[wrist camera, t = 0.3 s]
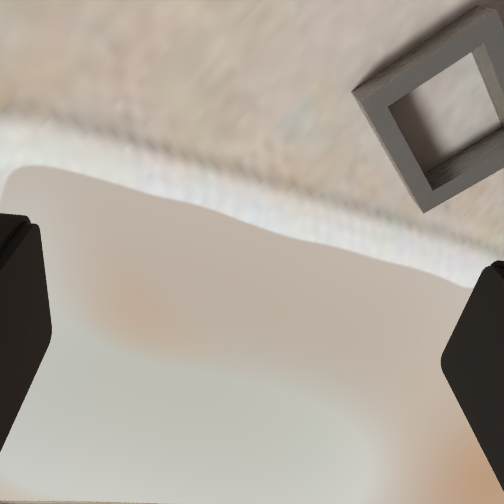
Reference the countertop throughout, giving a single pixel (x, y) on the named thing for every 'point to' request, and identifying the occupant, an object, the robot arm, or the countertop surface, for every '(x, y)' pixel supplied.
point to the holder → (418, 72)
